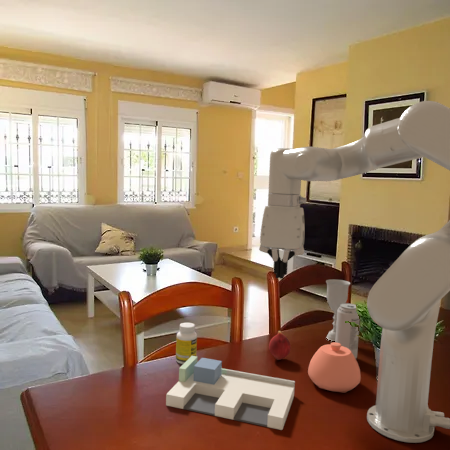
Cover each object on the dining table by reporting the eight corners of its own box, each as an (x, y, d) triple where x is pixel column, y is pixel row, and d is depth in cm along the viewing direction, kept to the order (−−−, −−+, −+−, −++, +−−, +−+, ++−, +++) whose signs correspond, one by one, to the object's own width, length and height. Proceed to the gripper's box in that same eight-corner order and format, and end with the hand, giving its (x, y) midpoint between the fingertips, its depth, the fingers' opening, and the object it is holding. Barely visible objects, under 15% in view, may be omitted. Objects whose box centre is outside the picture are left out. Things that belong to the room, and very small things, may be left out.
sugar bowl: (303, 390, 101) (305, 348, 100) (312, 366, 114) (315, 329, 113) (358, 401, 97) (361, 357, 96) (361, 375, 110) (364, 336, 109)
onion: (293, 359, 119) (294, 330, 118) (284, 366, 114) (286, 336, 113) (274, 353, 122) (275, 326, 121) (264, 360, 117) (266, 331, 116)
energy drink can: (341, 352, 125) (344, 301, 123) (360, 359, 120) (364, 306, 119) (330, 358, 120) (333, 305, 119) (350, 365, 116) (353, 310, 114)
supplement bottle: (193, 366, 112) (194, 329, 111) (173, 363, 113) (173, 327, 112) (198, 357, 118) (199, 322, 116) (179, 355, 119) (180, 320, 118)
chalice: (322, 341, 132) (326, 283, 130) (321, 334, 139) (325, 278, 137) (347, 344, 131) (351, 285, 129) (345, 336, 138) (349, 280, 135)
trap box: (294, 395, 99) (295, 372, 98) (282, 430, 85) (283, 403, 84) (191, 376, 106) (192, 355, 106) (166, 405, 93) (166, 380, 92)
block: (221, 375, 102) (221, 361, 102) (214, 384, 97) (214, 369, 97) (201, 371, 104) (201, 357, 103) (193, 380, 99) (193, 366, 98)
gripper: (317, 202, 105) (313, 277, 107) (257, 199, 109) (254, 271, 111) (313, 203, 97) (309, 284, 100) (249, 200, 102) (246, 277, 104)
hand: (280, 277), depth 105 cm, fingers closed
